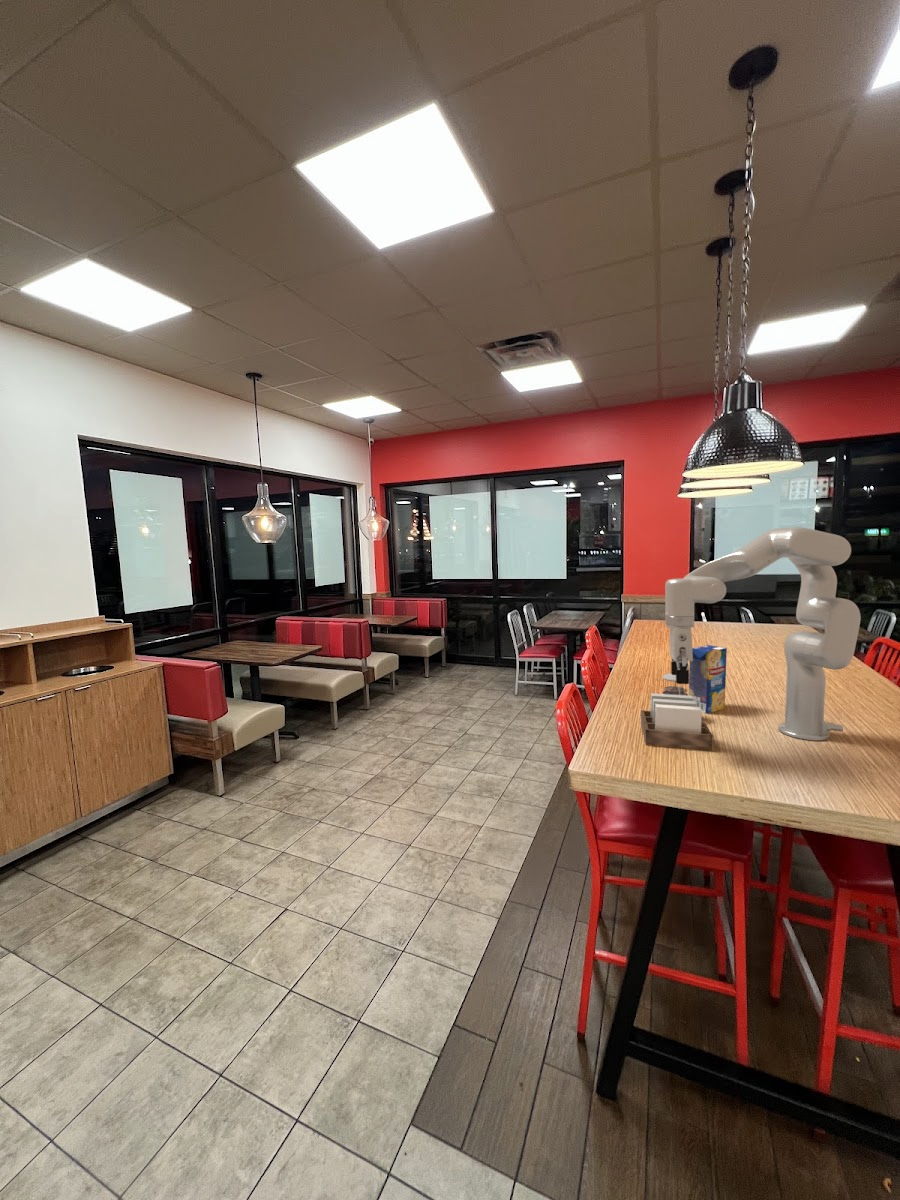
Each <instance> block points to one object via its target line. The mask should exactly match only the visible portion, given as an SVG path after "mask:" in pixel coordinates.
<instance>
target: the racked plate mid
mask: <svg viewBox="0 0 900 1200" xmlns="http://www.w3.org/2000/svg"><path fill="white" fill-rule="evenodd" d="M655 704H660V705H675V706H689V707H697V703H696V702H695V701H683V700H667V699H653V715H652V723H655Z"/></svg>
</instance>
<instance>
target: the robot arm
mask: <svg viewBox="0 0 900 1200" xmlns="http://www.w3.org/2000/svg"><path fill="white" fill-rule="evenodd" d="M851 555H852V546H851V544H850V542H849V541H848V540H847V539H846V538H845V537H843V536H841V535H838V534H836V533H835V534H834V533H829V532H825V531H821V530H817V529H811V528H808V527H799V526H795V527H794V526H793V527H779V528H771V529H770V530H767V531H765V532H763V533H762V534H761V535H759V536H757V537H756V538H754V539H753V540H751V541H750V542H748V543H747V544H744V545H743V546H742V547H740V548H739V549H737V550H735V551H734V552H731V553H729V554H726V555H724V556H721V557H719V558H716V559H714V560H711V561H709V562H707V563H704V564H703V565H701V566H699V567H697V568H696V569H694V570H692V571H691V572H690V573H687V574H686V575H685V576H684V577H683V578H670V579H667V580H666V581H665V584H664V587H665V588H664V589H665V590H664V591H665V592H664V593H665V595H664V596H665V599H664V600H665V603H664V604H665V606H664V607H665V609H664V610H665V612H664V613H665V614H664V616H665V620H664V621H665V624H664V625H665V627H666V628H669V655H670V657H671V662H670V663H671V664H670V666H671V667H670V668H671V669H670V671H671V672H670V673H671V674H672V675H676V684H677V685H689V670H690V667H689V663H690V662H692V661H693V653H692V648H693V638H692V637H693V636H692V635H693V634H692V628H694V627H695V604H696V603H699V604H700V603H701V604H715V603H717V602H720V601H721V600H723V599H724V598H725V596H726V594H727V587H726V584H725V583H726V582H731V581H737V580H743V579H747V578H750V577H753V576H755V575H757V574H758V573H760V572H761V571H763V570H764V569H766V568H768V567H769V566H770V565H771V564H772V565H773V564H774V563H776V562H777V561H778V560H780V559H783V558H788V560H789V561H790V562H791V563H792V564H793V565H794V566H795V568H796V569H797V571H798V572H799V574H800V578H801V579H800V580H801V582H800V590H799V595H798V600H797V605H796V610H795V611H796V612H795V613H796V614H795V616H796V617H795V618H796V620H797V622H798V623H799V624H801V625H802V626H805V627H809V628H812V629H813V628H814V629H820V630H824V633H820V632H814V631H811V630H810V631H809V630H797V631H793V632H791V633H789V635H788V636H786V638H785V640H784V643H783V651H784V657H785V663H786V686H785V703H784V704H785V705H784V706H785V707H784V708H785V709H784V722H782V723H780V724H778V727H777V728H778V731H779V732H781V733H782V734H784V735H787V736H789V737H792V738H797V739H800V740H807V741H824V740H828V739H829V738H830V733H829V732H831V731H834V732H843V731H844V727H843V725H842V724H835V723H834V722H828V721H827V722H826V720H824V716H825V715H824V714H825V699H826V698H825V697H826V683H827V682H826V680H827V679H826V673H825V671H824V669H828V670H836V671H837V670H842V669H845V668H847V667H848V666H849V665H850V664H851V662H852V660H853V657H854V655H855V650H856V645H857V640H858V636H859V631H860V624H861V619H862V617H861V612H860V609H859V607H858V605H857V604H856V603H855V602H853V600H849V599H846V598H841V597H836V595H837V588H838V587H837V585H838V578H837V577H838V576H837V574H836V572H835V570H834V568H833V567H835V566H839V565H842V564H844V563H845V562H846V561H848V559H849V558H850V556H851Z"/></svg>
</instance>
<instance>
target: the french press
mask: <svg viewBox="0 0 900 1200" xmlns="http://www.w3.org/2000/svg"><path fill="white" fill-rule="evenodd" d="M661 677H662V679H663V680H665V681H668V682H673V683H674V686H672V685H671V686H669V685H668V686H665V687H663V689H664V691H662V694H670V695H686V696H689V693H687V692H688V689H686V688H685V686H684V684H681V686H679V684H677V683H676V675H672V674H671V672H670V673H666V674H664V675H663V676H661ZM676 684H677V685H676Z"/></svg>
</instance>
